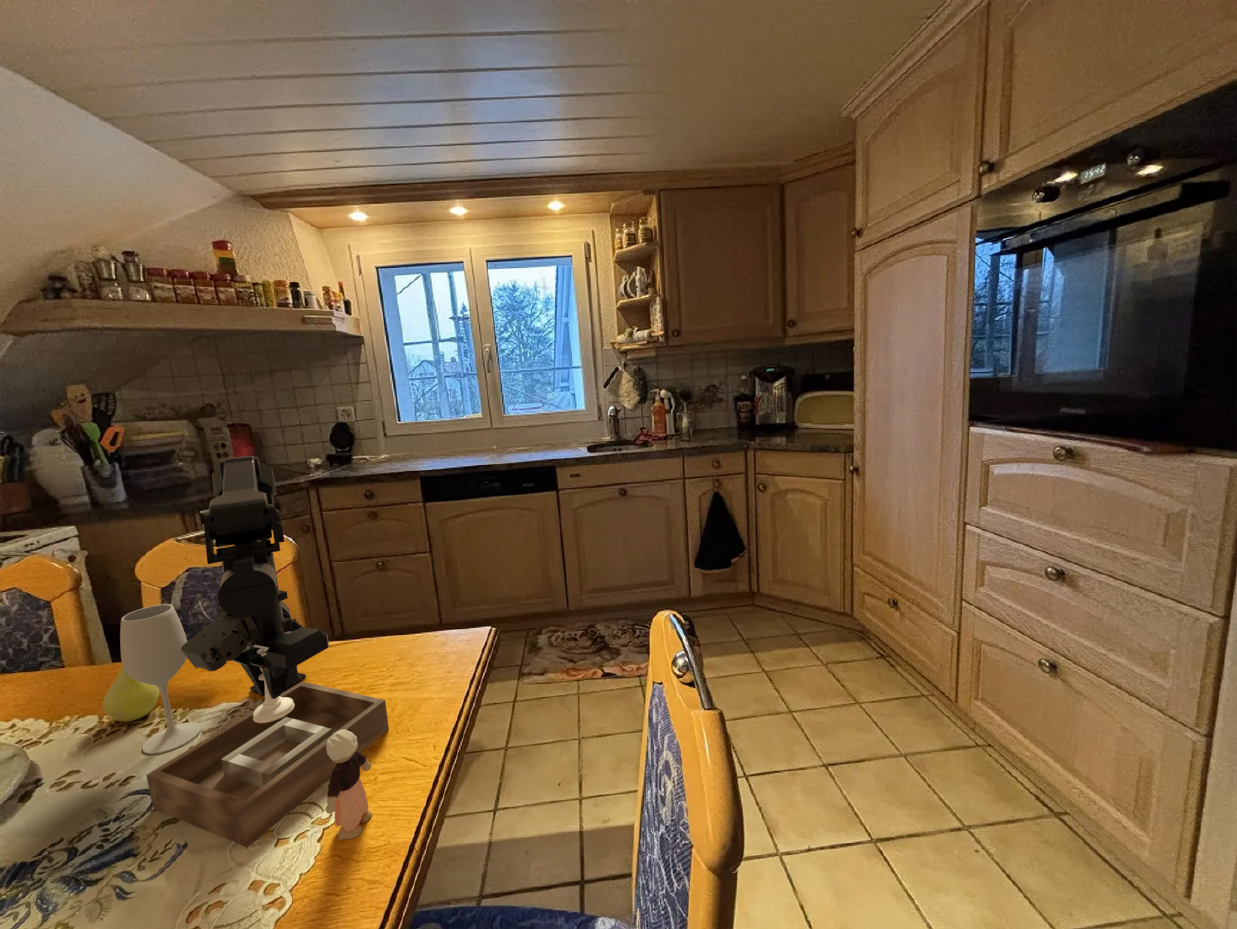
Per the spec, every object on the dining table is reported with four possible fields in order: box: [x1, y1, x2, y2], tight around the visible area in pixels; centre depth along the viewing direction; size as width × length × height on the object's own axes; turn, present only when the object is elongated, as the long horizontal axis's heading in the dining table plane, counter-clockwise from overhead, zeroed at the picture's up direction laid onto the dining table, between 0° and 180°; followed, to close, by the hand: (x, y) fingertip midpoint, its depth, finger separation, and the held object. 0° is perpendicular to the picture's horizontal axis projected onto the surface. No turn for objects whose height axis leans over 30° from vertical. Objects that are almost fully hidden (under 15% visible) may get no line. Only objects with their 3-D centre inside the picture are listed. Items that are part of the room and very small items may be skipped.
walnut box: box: [146, 681, 390, 848], centre depth 75 cm, size 18×22×5 cm
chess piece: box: [253, 648, 294, 723], centre depth 73 cm, size 5×5×10 cm
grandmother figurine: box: [325, 729, 373, 841], centre depth 63 cm, size 8×4×13 cm, turn 5°
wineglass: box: [119, 603, 203, 755], centre depth 81 cm, size 8×8×21 cm
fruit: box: [102, 666, 160, 722], centre depth 88 cm, size 7×8×12 cm
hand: (271, 695), depth 74 cm, fingers closed on chess piece
